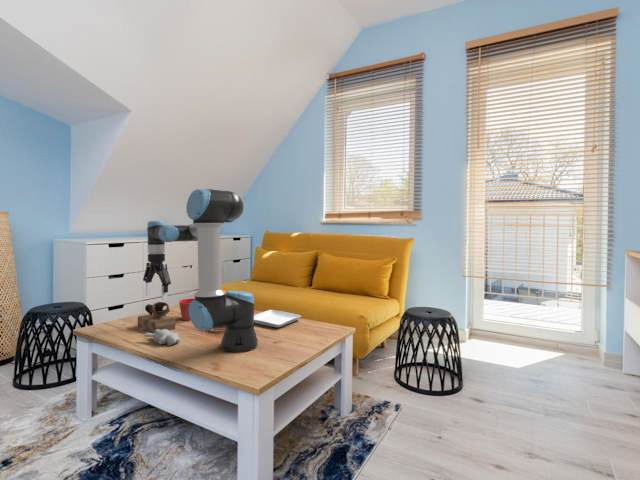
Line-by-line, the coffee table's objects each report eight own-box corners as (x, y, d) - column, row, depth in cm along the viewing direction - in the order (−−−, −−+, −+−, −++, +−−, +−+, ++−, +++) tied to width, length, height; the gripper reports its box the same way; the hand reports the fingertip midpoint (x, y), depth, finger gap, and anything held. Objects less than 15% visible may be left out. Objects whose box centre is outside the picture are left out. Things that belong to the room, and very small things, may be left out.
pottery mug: (172, 315, 187) (173, 302, 183) (164, 328, 179) (165, 315, 175) (148, 308, 186) (149, 296, 182) (139, 321, 178) (139, 308, 174)
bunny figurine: (168, 339, 153) (142, 329, 159) (167, 351, 153) (141, 341, 159) (185, 332, 161) (159, 324, 167) (184, 344, 162) (158, 335, 168)
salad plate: (278, 331, 181) (279, 324, 181) (245, 324, 192) (245, 317, 191) (302, 321, 199) (302, 314, 199) (270, 315, 210) (270, 309, 210)
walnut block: (175, 328, 180) (175, 318, 180) (155, 333, 172) (155, 322, 171) (157, 322, 189) (157, 312, 189) (137, 326, 181) (137, 316, 181)
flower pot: (205, 318, 200) (205, 300, 199) (188, 322, 190) (188, 303, 190) (191, 315, 205) (192, 297, 205) (174, 319, 196) (174, 301, 195)
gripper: (178, 254, 174) (179, 299, 175) (149, 251, 189) (150, 293, 190) (163, 255, 168) (164, 302, 169) (135, 252, 183) (135, 295, 184)
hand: (156, 297), depth 179 cm, fingers open, 13 cm apart
